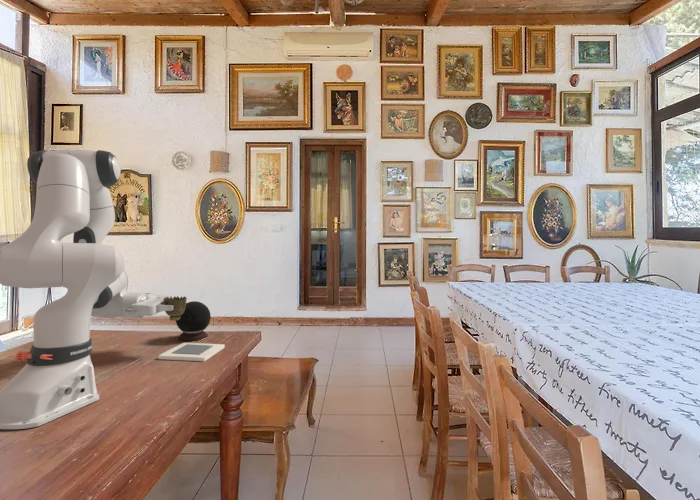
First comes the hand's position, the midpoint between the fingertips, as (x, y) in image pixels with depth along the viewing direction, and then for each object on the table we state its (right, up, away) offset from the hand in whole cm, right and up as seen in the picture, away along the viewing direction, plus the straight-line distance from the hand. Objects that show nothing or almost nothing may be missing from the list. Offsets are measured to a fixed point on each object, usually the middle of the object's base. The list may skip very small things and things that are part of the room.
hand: (178, 305), depth 131 cm
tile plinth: (+5, -17, 0) cm, 18 cm away
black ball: (-3, -16, +20) cm, 26 cm away
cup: (-1, -5, 0) cm, 5 cm away
